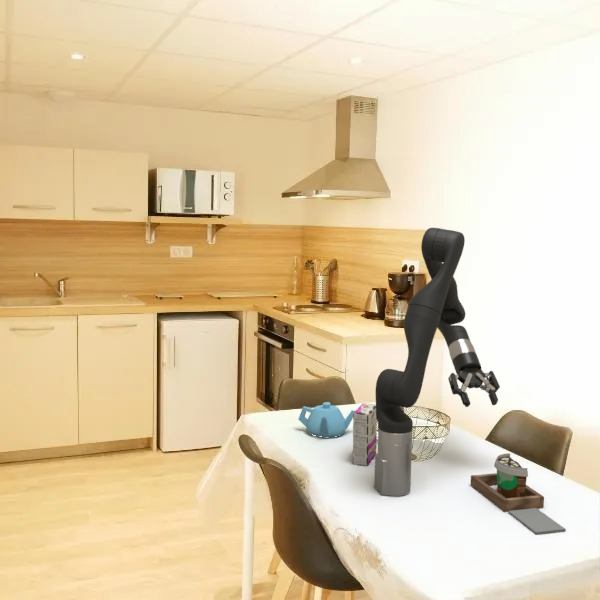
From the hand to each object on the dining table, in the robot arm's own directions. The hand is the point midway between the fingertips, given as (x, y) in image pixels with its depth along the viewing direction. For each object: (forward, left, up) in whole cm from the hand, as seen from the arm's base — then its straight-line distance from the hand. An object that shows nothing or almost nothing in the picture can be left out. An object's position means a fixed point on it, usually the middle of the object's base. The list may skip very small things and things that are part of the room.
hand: (481, 404), depth 188 cm
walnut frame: (0, -15, -21) cm, 26 cm away
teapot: (-32, +48, -22) cm, 62 cm away
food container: (0, -15, -22) cm, 26 cm away
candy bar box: (-28, +20, -22) cm, 41 cm away
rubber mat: (-1, -30, -21) cm, 37 cm away
